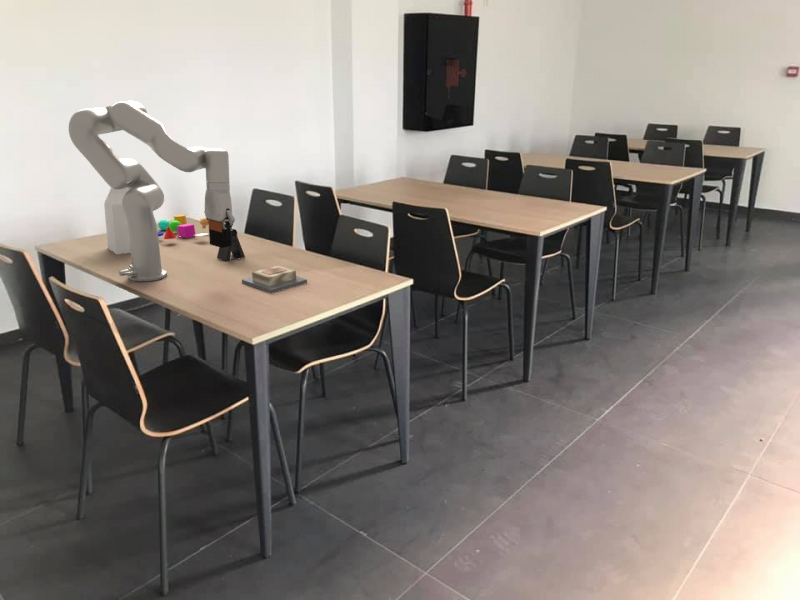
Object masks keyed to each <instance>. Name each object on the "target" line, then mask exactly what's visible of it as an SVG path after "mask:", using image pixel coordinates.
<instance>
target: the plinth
mask: <svg viewBox="0 0 800 600" xmlns="http://www.w3.org/2000/svg"><path fill="white" fill-rule="evenodd" d="M296 276H297V271H296V269H293V268H290V267H286V266H283V265H279V264H278V265H274V266H272V267H267V268H263V269H258V270H256V271H252V272H251V277H252V279H253V281H256V282H258V283H261V284H264V285H267V286H271V285H275V284H278V283H282V282H286V281H289V280H293V279H296Z"/></svg>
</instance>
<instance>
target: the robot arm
mask: <svg viewBox="0 0 800 600" xmlns="http://www.w3.org/2000/svg"><path fill="white" fill-rule="evenodd" d="M119 131H124V132H126V133H127V134H129V135H131V136H132V137H134V138H136V140H139V141H141V142H142V143H143V144H146V145H147V146H148V147H149V148H151V150H152V151H153V152H154V153H155V154H156V155H157V156H158V157H159V158H160V159H161V160H163V161H164V162H166V163H168V165H171V166H172V167H174V168H175V169H177V170H179V171H182V172H185V173H194V172H196V171H198V170H202V169H205V182H206V189H205V194H204V216H205V218H207V220H208V225H209V219H211V220H214V221H218V222H222V226H223V229H222V238H223V241H226V240H231V229H233V226H234V223H235V221H236V219H235V217H234V215H233V205H232V204H233V203H232V197H231V192H230V191H231V189H230V187H231V185H230V164H229V161H230V160H229V157H230V156H229V153H228V150H226V149H224V148H207V147H204V146H198V145H197V146H190V147H186V146H183V145H181V144H180V143H178V142H177V141H175V140H174V139H172V138H171V136H169V135H168V134H167V132H166V126H165V125H164V123H162V122H160V121H158V120H157V119H156V118H154V117H151V116H150V115H149V114H148V112H147V110H146V108H145V107H144V105H143V104H141V103H140V102H138V101H134V100H127V101H126V100H125V101H118V102H115V103H114V104H113V105H109V106H108V105H107V106H103V107H94V108H90V107H89V108H84V109H83V108H82V109H80V110H78V111H76V112H74V114H72V116H71V118H70V119H69V121H68V135H69V137H70V140H71V143H72V144H73V145H74V147H75V148H76V149H77V150H78V151H79V152H80V154H82V156H83V157H84V158H85V159H86V160H87V161H88V162H89V164H90V165H91V167H92V168H94V170H95V171H96V172H97V174H98V175H99V176H100V178H102V180H104V182H105V183H106V184H107V185H108V186H109V187H110V188H111V187H112V188H113V189H124V188H128V189H129V191H127V192H126V193H125V195H124V196H123V199H122V207H123V211H124V214H125V218H126V222H127V228H128V235H129V243H130V251H131V253H130V257H131V259H130V260H131V264H130V265H129V266H128V268H127V269H123V270H122V269H121V270H119V271H118V274H119V277H122V276H123V277H125V276H127V277H128V279H129V280H130V281H135V282H153V281H158V280H162V279H164V278H165V277H167V274H168V273H167V270H165V269H162V268H163V267H162V259H161V252H160V241H159V237H158V232H159V231H158V223H157V220H156V218H155V215H154V211H157V210H158V209H159V208H161V207H162V206H163V204H164V202H165V194H164V192H163V190H162V188H161V186H159V184H158V182H156V180H155V179H154V178H153V177H152V176H151V175H150V173H149V172H148V171H147V169H145V167H144V166H143V164H141V163H140V162H138V161H137V160H136V159H133V158H127V157H126V158H121V157H120V156H118V155H117V153H116V152H115V151H114V149H113V148H112V147H111V146H110V145H109V144H108V143H107V142H105V141H104V140H103V139H101V137H100V136H99V135H104V134H110V133H114V132H119ZM224 219H226V220H224ZM225 222H227V224H225Z"/></svg>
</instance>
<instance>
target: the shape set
mask: <svg viewBox="0 0 800 600" xmlns="http://www.w3.org/2000/svg"><path fill="white" fill-rule="evenodd" d="M173 219H174V220H172V221H170V222H169V221H168V220H167V219H160V220H159V221H158V223H157V228H158V229H159V230H161V229H162V230H161V231H158V238H159V237H161V236H163V239H164V240H171V239H172V240H173V239H176V238H177V236H176V234H174V233H176V232H177V235H178V237H179V236H181V237H185V238H184V239H188V238H187V237H189V238H193V237H192V236H194V237H197V236H198V237H202V236H207V235H208V236H209V232H208V233H206V232H201V233H197V234H196V229H195V224H191V223H188V222H187V215H186V214H177V215H173ZM199 224H200V225H201V226H202V227H201V228H202V230H204V229H207V226H209V224H208V220H207V218H206V217H203V218H200V220H199ZM165 229H167V230H165ZM163 231H165V234H164V232H163Z"/></svg>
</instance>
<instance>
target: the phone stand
mask: <svg viewBox="0 0 800 600" xmlns="http://www.w3.org/2000/svg"><path fill="white" fill-rule="evenodd" d="M217 251H218V252H217V256H216V258H218V259H217V260H220V259H221V261H223V260H224V262H226V261H227V262H230V260H231V261H235V260H240V259H244V258H245V257H246V254H245V253H244V250H243V248H242V244H241V242H240V241H239V237H238V231H237V230H236V229H235V228H232V229H231V246H229V247H225V248H220V247H218V250H217ZM243 257H244V258H243ZM239 258H240V259H239Z"/></svg>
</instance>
